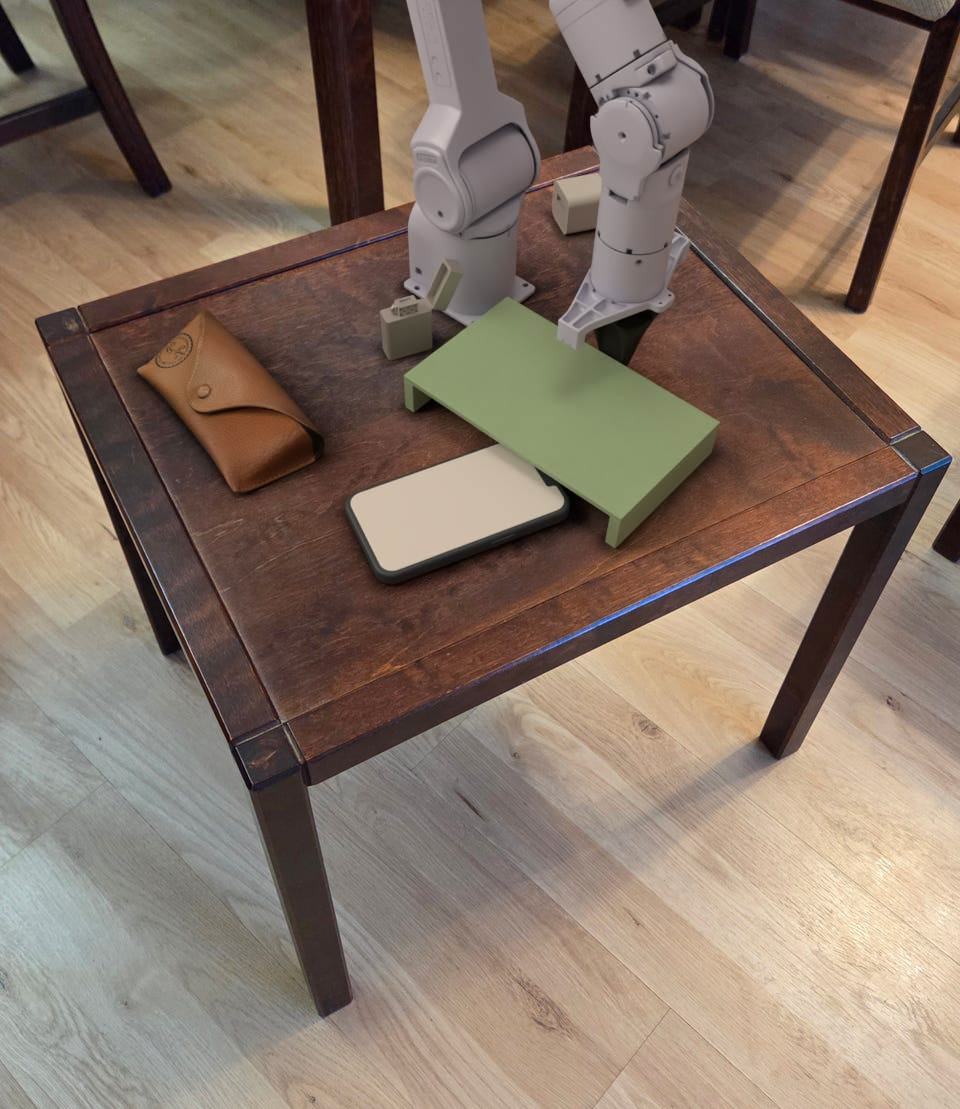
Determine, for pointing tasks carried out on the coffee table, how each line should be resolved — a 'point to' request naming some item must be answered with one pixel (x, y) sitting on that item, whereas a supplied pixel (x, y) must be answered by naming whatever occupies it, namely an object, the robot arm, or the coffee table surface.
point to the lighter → (418, 314)
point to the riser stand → (567, 412)
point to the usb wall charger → (577, 202)
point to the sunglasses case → (233, 405)
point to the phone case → (452, 511)
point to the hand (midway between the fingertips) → (613, 365)
